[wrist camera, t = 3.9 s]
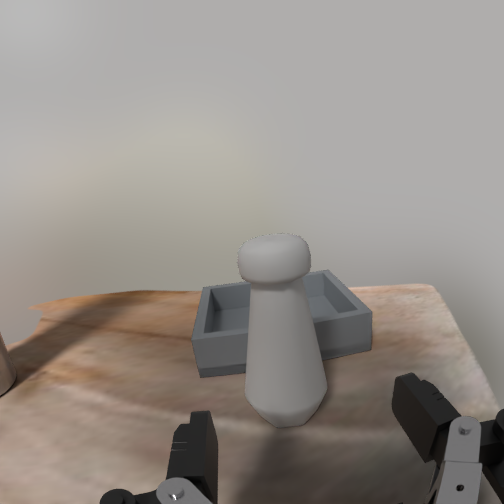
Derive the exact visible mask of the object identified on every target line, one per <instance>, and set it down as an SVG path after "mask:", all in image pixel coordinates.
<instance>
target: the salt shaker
mask: <svg viewBox="0 0 504 504" xmlns="http://www.w3.org/2000/svg"><path fill="white" fill-rule="evenodd" d="M238 268H239V273H240V275H241V277H242V279H244V280H245V281H247V282H249V283H251V294H250V311H249V329H248V346H247V363H246V380H245V396H246V399H247V400H248V402H249V403H250V404H251V405H252V406H253V408H254V409H255V410H256V411H257V412H258V414H259V415H260V416H261V417H262V418H264V419H265V420H266V421H268V422H269V423H271V424H272V425H274V426H275V427H276V428H283V427H292V426H301V425H304V424H305V423H306V422H307V420H308V419H309V418H310V417H311V416H312V415H313V414H314V413H315V412H316V410H317V409H318V407H319V405H320V403H321V402H322V399H323V397H324V395H325V393H326V391H327V381H326V376H325V372H324V367H323V363H322V358H321V354H320V350H319V345H318V341H317V337H316V332H315V328H314V324H313V320H312V315H311V311H310V307H309V303H308V299H307V295H306V291H305V287H304V283H303V279H302V277H304V276H305V275H306V274H307V273H308V272H309V271H310V268H311V255H310V251H309V247H308V244H307V242H306V241H305V240H303V238H301V237H300V236H297V235H293V234H284V233H279V234H269V235H262V236H259V237H255V238H253V239H250V240H248V241H246V242H244V243H243V244H242V246H241V247H240V248H239V251H238Z"/></svg>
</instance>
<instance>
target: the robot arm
mask: <svg viewBox="0 0 504 504" xmlns="http://www.w3.org/2000/svg"><path fill="white" fill-rule="evenodd" d="M16 375H17V374H16V370H15V368H14V366H13V363H12V361H11V359H10V356H9V354H8V351H7V349H6V346H5V344H4V341H3V338H2V336H1V333H0V395H2V394H3V393H5V392H6V391H7V390H8V389H9V388H10V387H11V386H12V384H13V383H14V381H15V379H16ZM392 410H393V413H394V415H395V417H396V419H397V420H398V422H399V423H400V425H401V426H402V428H403V429H404V431H405V432H406V434H407V436H408V437H409V439H410V440H411V442H412V443H413V445H414V447H415V448H416V450H417V451H418V453H419V454H420V456H421V458H422V459H423V461H424V462H425V463H427V462H429V461H431V460H435V462H436V464H435V467H434V471H433V475H432V479H431V482H430V486H429V490H428V493H427V496H426V500H425V502H424V504H477V501H478V495H479V488H480V481H481V472H483V474H484V475H485V477H486V478H487V480H488V481H489V483H490V485H491V486H492V488H493V489H494V491H495V492H496V494H497V496H498V497H499V499H500V500H501V502H502V504H504V409H502V410H500V411H499V412H498V414H497V416H496V418H495V420H490V421H485V422H478V421H477V420H476V419H475V418H473V417H469V416H461V415H460V414H459V413H458V411H457V410H456V409H455V408H454V407H453V406H452V405H451V404H450V402H449V401H448V400H447V399H446V398H444V396H443V395H442V393H440V392H439V390H438V389H437V388H436V387H435V386H434V385H433V384H431V383H430V382H428V381H426V380H422V381H420V380H419V379H418V377H417V376H416V375H415V374H414V373H408V374H405V375H402V376H398V377H396V379H395V385H394V392H393V398H392ZM100 504H218V440H217V435H216V431H215V428H214V424H213V421H212V417H211V413H210V411H197V412H191V417H190V424H180V426H179V427H178V428H177V430H176V431H175V432H174V436H173V444H172V448H171V453H170V459H169V465H168V471H167V477H166V480H165V481H163V482H162V483H161V484H160V485H159V486H158V488H157V489H156V490H154V491H152V492H148V493H143V494H138V495H133V494H132V493H131V492H129V491H127V490H124V489H113V490H110V491H108V492H107V493H105V494H104V495H103V496H102V498H101V500H100ZM399 504H403V503H399Z"/></svg>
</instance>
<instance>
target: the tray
mask: <svg viewBox="0 0 504 504" xmlns="http://www.w3.org/2000/svg"><path fill="white" fill-rule="evenodd" d="M302 279H303V283H304V287H305V291H306V295H307V299H308V303H309V307H310V311H311V315H312V320H313V324H314V328H315V332H316V337H317V341H318V345H319V350H320V354H321V358H322V360H326V359H331V358H336V357H341V356H345V355H350V354H355V353H359V352H363V351H368V350H371V337H372V311H371V310H370V309H369V308H368V307H367V306H366V305H365V304H364V303H363V302H362V301H361V300H360V299H359V298H358V297H356V296H355V295H354V294H353V293H352V292H351V291H350V290H349V289H348V288H347V287H346V286H345V285H344V284H343V283H342V282H341V281H340V280H339V279H338V278H337V277H336V276H334V275H333V274H332V273H331V272H330V271H329V270H323V271H317V272H310V273H307V274H306V275H305V276H304V277H302ZM250 294H251V283H249V282H247V281H246V282H239V283H232V284H225V285H216V286H209V287H203V290H202V294H201V299H200V303H199V307H198V312H197V316H196V321H195V325H194V330H193V334H192V339H191V341H192V345H193V350H194V354H195V358H196V363H197V367H198V371H199V375H200V378H201V377H212V376H221V375H230V374H239V373H246V363H247V346H248V329H249V311H250Z"/></svg>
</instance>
